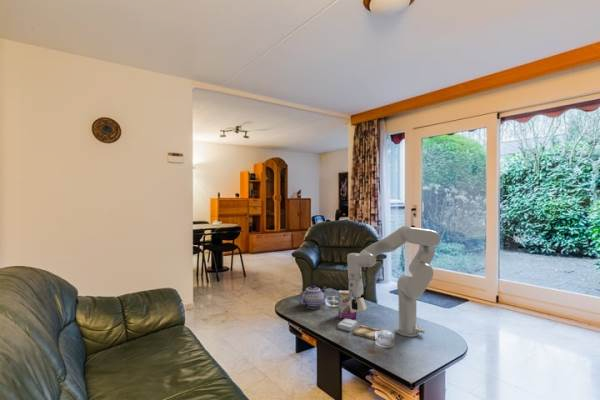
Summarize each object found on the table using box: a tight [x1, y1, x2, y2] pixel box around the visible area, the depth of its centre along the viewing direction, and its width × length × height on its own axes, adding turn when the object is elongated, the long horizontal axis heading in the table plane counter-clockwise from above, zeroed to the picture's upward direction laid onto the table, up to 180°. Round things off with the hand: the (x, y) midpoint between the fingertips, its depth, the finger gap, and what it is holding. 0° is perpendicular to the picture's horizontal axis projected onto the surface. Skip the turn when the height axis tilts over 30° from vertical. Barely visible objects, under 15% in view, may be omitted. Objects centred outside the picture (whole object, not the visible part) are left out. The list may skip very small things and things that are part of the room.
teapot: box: [297, 284, 327, 310], centre depth 208 cm, size 25×15×15 cm, turn 124°
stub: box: [348, 297, 368, 313], centre depth 167 cm, size 8×4×6 cm, turn 54°
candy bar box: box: [338, 290, 357, 320], centre depth 189 cm, size 11×5×16 cm, turn 84°
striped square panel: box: [337, 318, 359, 332], centre depth 176 cm, size 8×10×2 cm
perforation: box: [336, 328, 350, 334], centre depth 170 cm, size 8×1×1 cm, turn 56°
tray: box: [352, 324, 383, 340], centre depth 167 cm, size 13×9×2 cm
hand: (356, 307), depth 167 cm, fingers closed on stub, 3 cm apart
